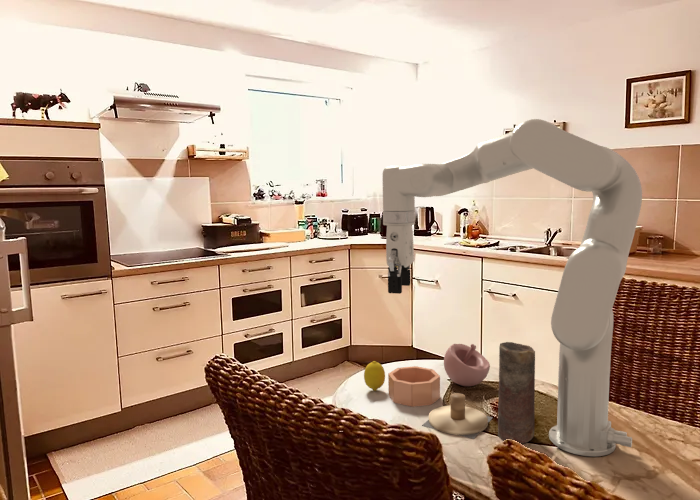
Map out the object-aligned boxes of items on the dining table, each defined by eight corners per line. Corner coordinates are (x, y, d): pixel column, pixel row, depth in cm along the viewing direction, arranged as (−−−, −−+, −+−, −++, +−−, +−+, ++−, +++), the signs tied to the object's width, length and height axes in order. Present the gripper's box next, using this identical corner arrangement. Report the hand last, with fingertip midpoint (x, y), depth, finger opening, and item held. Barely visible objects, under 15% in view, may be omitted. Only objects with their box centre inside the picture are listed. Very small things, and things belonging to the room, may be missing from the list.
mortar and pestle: (481, 396, 134) (481, 352, 133) (436, 388, 140) (436, 346, 139) (495, 381, 144) (495, 340, 143) (453, 373, 150) (453, 334, 149)
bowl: (445, 394, 136) (445, 371, 135) (425, 411, 126) (425, 387, 125) (404, 385, 143) (403, 363, 142) (381, 401, 133) (381, 377, 132)
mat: (492, 419, 121) (492, 417, 121) (473, 441, 111) (473, 438, 111) (443, 408, 128) (443, 406, 128) (421, 427, 118) (421, 425, 118)
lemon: (385, 386, 142) (385, 357, 141) (384, 394, 137) (384, 364, 136) (365, 386, 143) (364, 357, 142) (363, 394, 137) (362, 364, 136)
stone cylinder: (504, 426, 117) (506, 338, 115) (538, 435, 113) (540, 343, 111) (492, 440, 111) (493, 347, 109) (527, 449, 107) (529, 353, 105)
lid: (495, 417, 121) (496, 391, 120) (475, 440, 110) (475, 412, 110) (442, 405, 128) (442, 381, 128) (418, 425, 118) (418, 400, 117)
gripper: (406, 221, 117) (407, 297, 119) (421, 216, 134) (421, 283, 136) (374, 221, 120) (375, 295, 122) (392, 216, 136) (392, 282, 138)
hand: (399, 289), depth 129 cm, fingers open, 9 cm apart
